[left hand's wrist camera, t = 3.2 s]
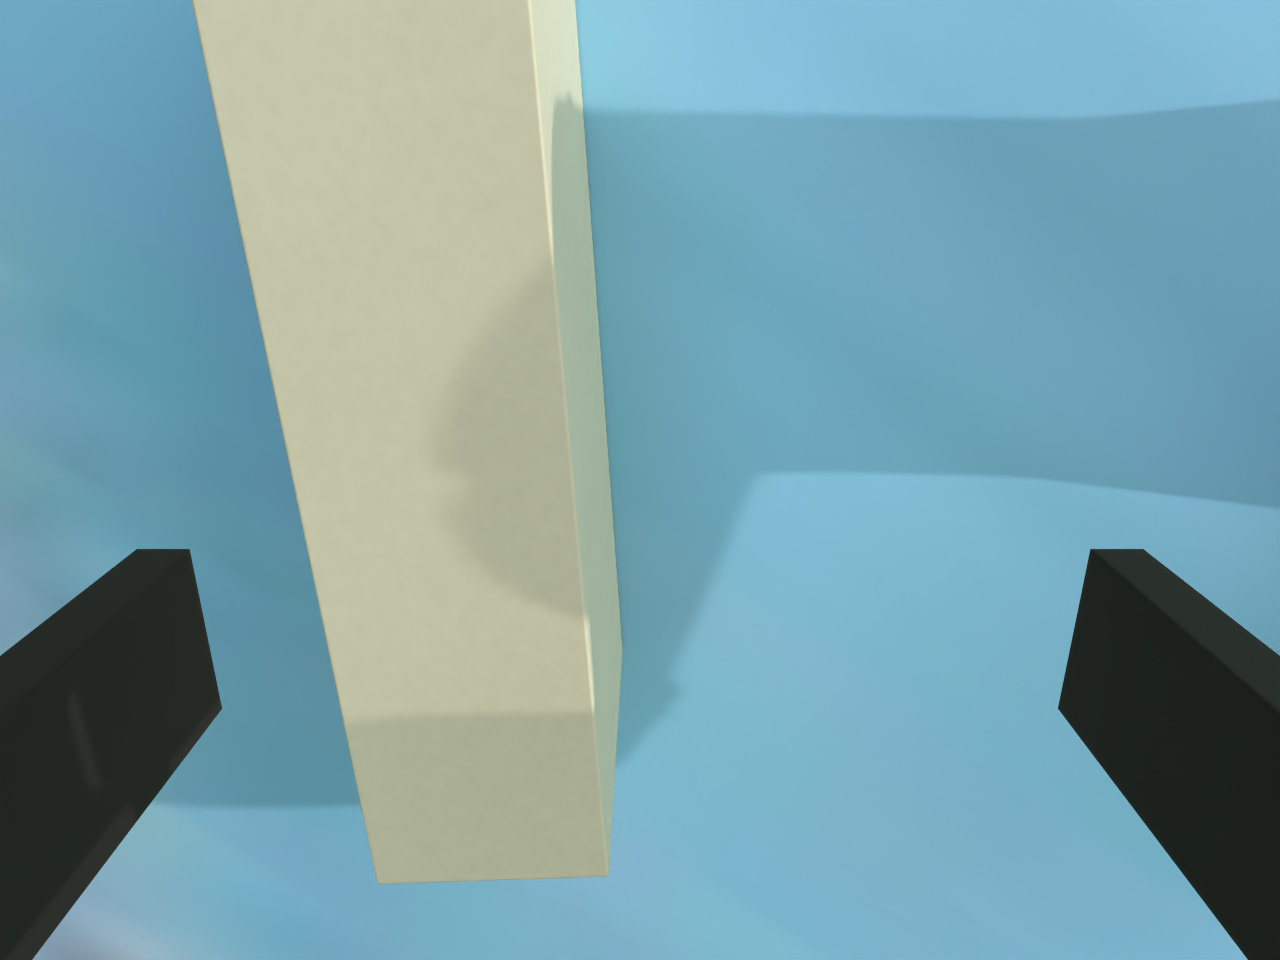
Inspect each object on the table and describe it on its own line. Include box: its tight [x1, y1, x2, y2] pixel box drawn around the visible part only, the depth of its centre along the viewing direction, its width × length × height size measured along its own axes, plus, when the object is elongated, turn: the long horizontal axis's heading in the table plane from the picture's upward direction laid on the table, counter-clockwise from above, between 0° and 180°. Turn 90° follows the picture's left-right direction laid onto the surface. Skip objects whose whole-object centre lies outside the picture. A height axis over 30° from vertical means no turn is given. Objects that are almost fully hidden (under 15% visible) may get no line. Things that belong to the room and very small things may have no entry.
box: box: [192, 0, 622, 884], centre depth 23 cm, size 26×6×11 cm, turn 3°
